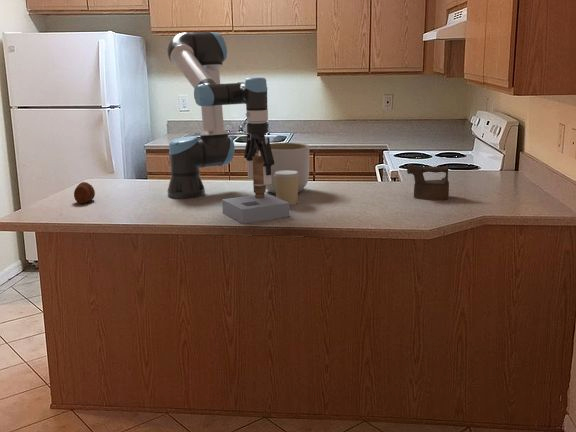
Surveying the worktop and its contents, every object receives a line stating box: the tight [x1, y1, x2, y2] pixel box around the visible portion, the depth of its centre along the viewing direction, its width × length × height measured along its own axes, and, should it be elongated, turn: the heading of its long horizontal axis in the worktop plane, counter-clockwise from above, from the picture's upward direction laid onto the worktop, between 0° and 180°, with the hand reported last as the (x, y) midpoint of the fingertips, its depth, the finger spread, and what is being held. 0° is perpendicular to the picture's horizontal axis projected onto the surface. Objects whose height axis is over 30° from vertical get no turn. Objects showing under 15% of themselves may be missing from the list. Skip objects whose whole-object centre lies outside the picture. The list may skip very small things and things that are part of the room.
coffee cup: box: [274, 170, 299, 206], centre depth 243 cm, size 9×9×12 cm
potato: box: [73, 181, 96, 205], centre depth 253 cm, size 8×12×8 cm, turn 0°
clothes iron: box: [406, 163, 450, 201], centre depth 246 cm, size 8×16×13 cm, turn 87°
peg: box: [252, 155, 267, 198], centre depth 230 cm, size 5×5×15 cm
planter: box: [258, 142, 310, 195], centre depth 262 cm, size 21×21×19 cm
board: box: [221, 193, 291, 225], centre depth 227 cm, size 18×18×5 cm
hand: (259, 181), depth 230 cm, fingers open, 13 cm apart
